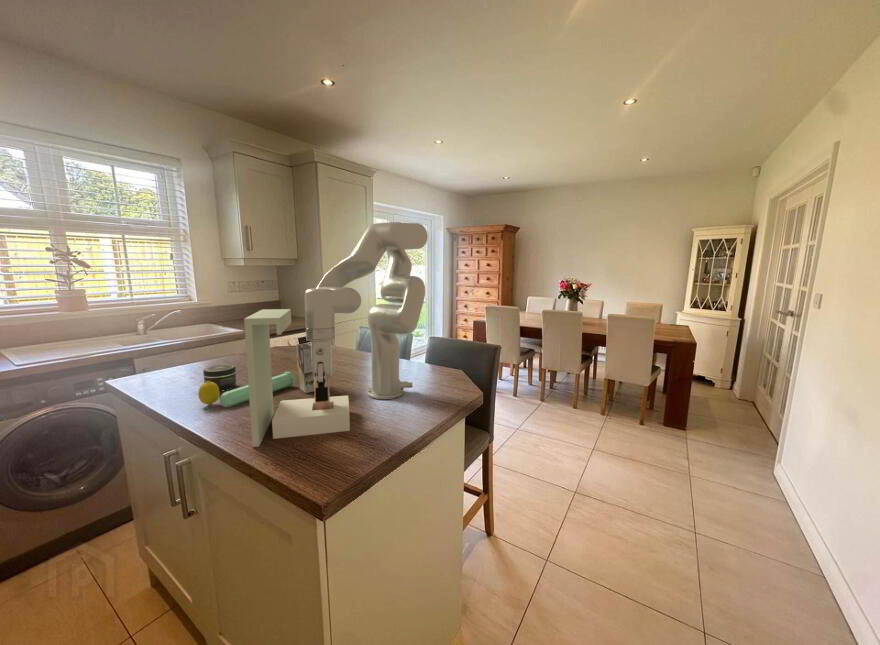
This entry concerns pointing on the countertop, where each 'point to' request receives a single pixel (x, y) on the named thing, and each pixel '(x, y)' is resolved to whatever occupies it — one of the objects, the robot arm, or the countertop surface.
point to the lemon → (208, 393)
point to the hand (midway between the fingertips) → (322, 397)
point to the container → (243, 392)
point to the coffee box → (305, 368)
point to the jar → (221, 376)
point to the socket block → (310, 417)
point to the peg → (322, 404)
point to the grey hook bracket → (261, 366)
